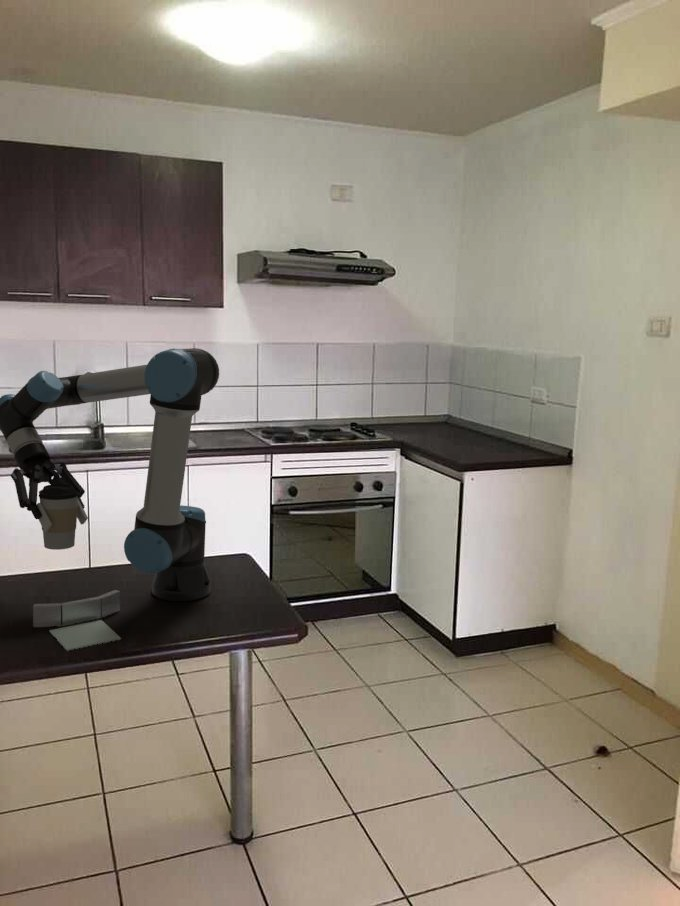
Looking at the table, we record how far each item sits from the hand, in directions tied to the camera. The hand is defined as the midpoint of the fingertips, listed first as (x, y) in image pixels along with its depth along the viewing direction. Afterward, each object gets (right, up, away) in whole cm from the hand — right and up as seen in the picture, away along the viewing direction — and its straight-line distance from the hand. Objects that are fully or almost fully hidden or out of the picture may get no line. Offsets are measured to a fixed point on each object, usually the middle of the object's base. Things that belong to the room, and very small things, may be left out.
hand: (66, 524), depth 183 cm
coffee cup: (-3, -6, +3) cm, 7 cm away
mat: (+8, -24, -11) cm, 27 cm away
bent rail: (+3, -22, -2) cm, 22 cm away
